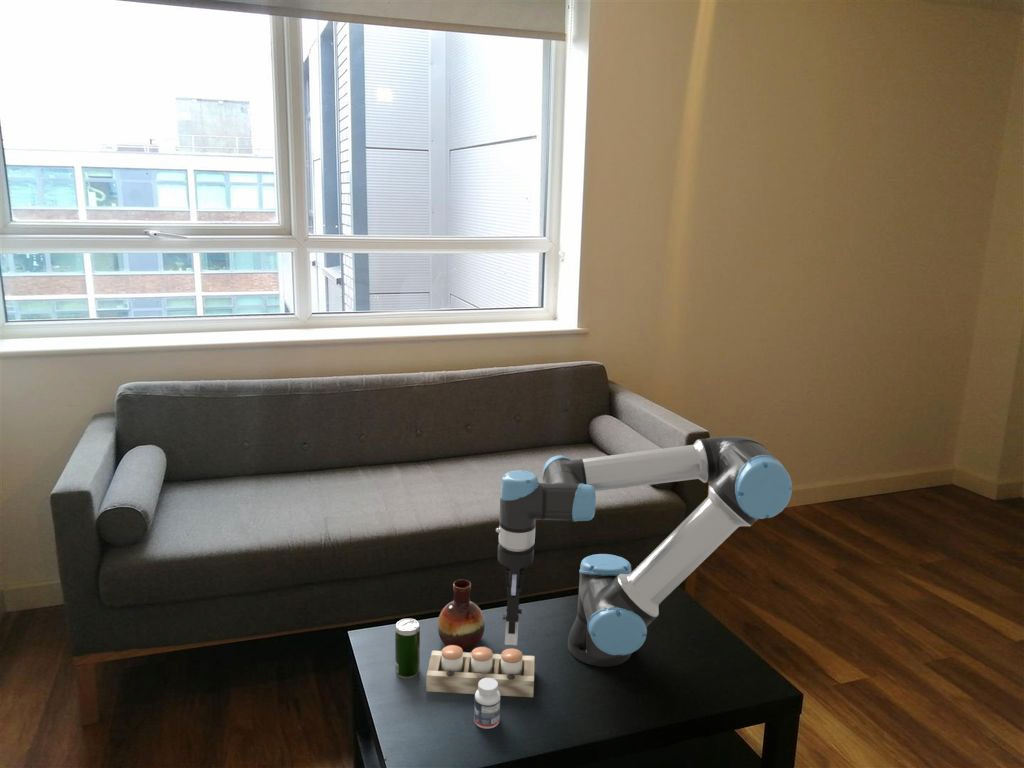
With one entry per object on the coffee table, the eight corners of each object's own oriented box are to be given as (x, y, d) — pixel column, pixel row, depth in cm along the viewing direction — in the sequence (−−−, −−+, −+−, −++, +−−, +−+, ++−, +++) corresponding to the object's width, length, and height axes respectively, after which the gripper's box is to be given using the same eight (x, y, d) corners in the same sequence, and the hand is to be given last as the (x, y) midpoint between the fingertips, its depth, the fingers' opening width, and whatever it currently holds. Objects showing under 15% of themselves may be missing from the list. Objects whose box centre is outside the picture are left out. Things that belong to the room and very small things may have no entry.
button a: (521, 666, 177) (522, 649, 176) (521, 679, 172) (522, 661, 171) (501, 665, 177) (501, 647, 176) (500, 678, 172) (500, 660, 171)
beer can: (401, 682, 174) (401, 634, 171) (391, 669, 178) (391, 622, 175) (423, 674, 177) (424, 627, 174) (413, 662, 181) (413, 615, 178)
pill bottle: (473, 712, 165) (474, 675, 163) (498, 711, 166) (500, 675, 164) (474, 730, 160) (475, 692, 158) (500, 729, 161) (501, 691, 158)
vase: (455, 661, 182) (456, 601, 178) (428, 638, 190) (429, 580, 186) (493, 645, 189) (495, 586, 185) (466, 623, 197) (467, 567, 193)
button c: (463, 663, 177) (463, 645, 176) (461, 676, 173) (461, 658, 171) (442, 662, 177) (443, 644, 176) (440, 675, 173) (440, 657, 172)
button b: (492, 665, 177) (493, 647, 176) (491, 678, 172) (491, 659, 171) (472, 664, 177) (472, 646, 176) (470, 676, 173) (470, 658, 171)
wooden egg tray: (533, 671, 179) (534, 655, 178) (533, 697, 171) (534, 680, 170) (431, 665, 180) (432, 649, 179) (426, 691, 171) (426, 674, 170)
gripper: (499, 529, 173) (495, 625, 179) (496, 557, 160) (491, 659, 166) (534, 531, 172) (528, 627, 179) (533, 559, 160) (527, 662, 166)
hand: (511, 642), depth 173 cm, fingers closed
